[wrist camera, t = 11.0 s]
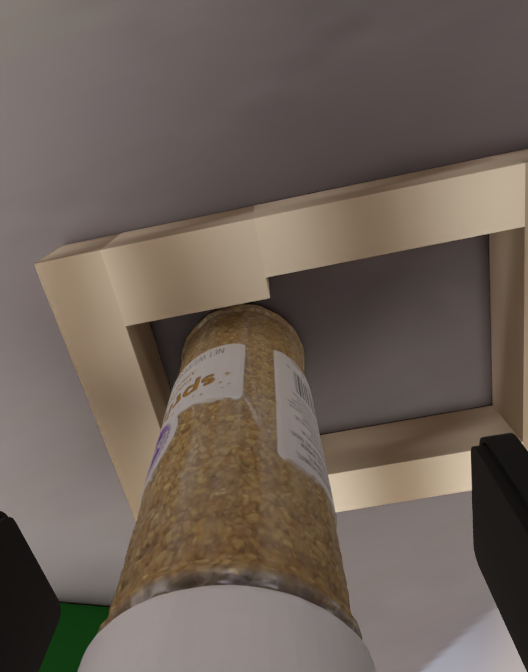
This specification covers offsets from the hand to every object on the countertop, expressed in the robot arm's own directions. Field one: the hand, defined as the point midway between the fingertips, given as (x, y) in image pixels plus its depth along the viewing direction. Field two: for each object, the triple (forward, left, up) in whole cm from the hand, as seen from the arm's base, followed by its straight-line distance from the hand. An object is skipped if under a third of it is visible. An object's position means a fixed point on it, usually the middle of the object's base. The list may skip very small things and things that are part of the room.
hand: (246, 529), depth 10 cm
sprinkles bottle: (0, 0, -9) cm, 9 cm away
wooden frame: (-3, +1, -9) cm, 9 cm away
